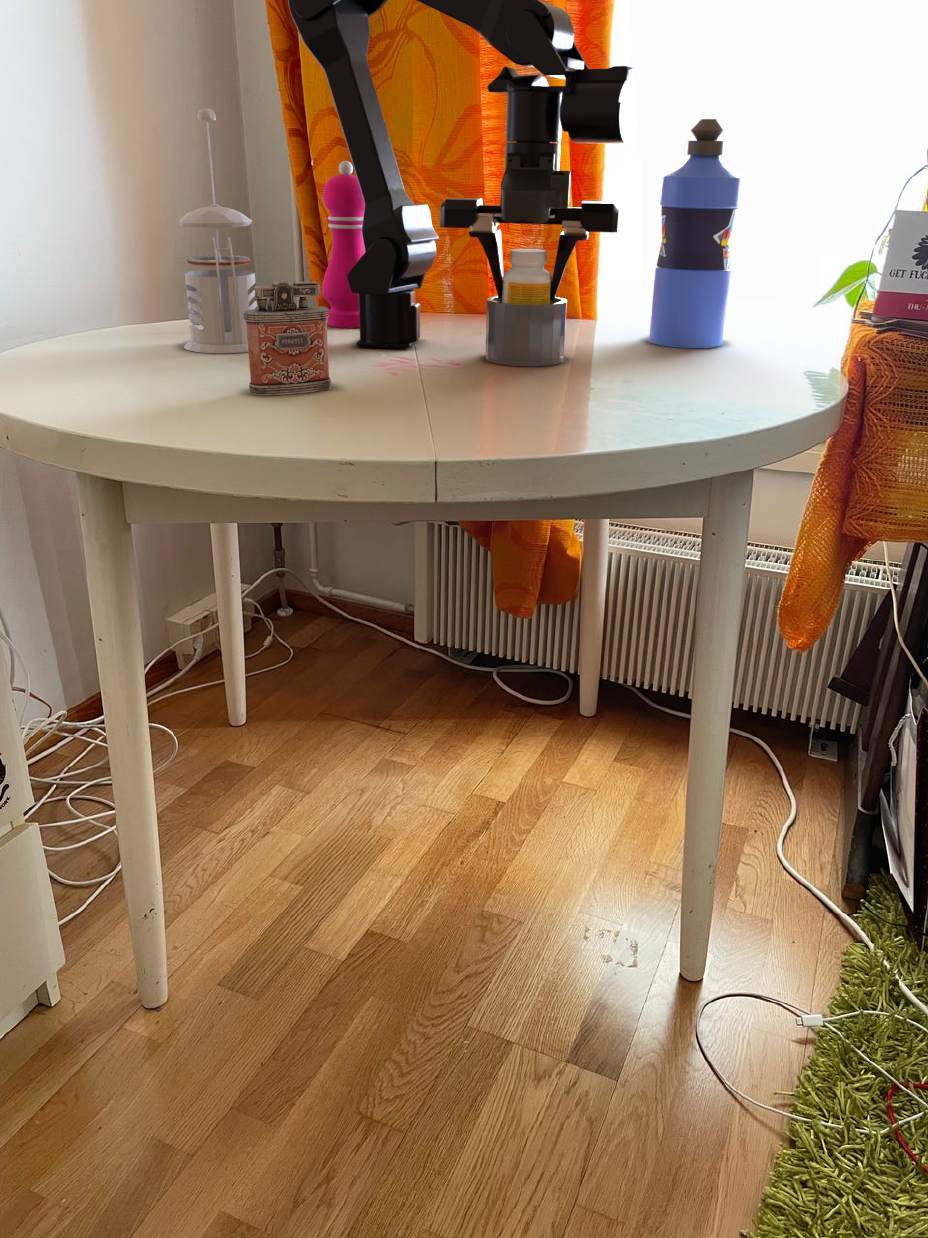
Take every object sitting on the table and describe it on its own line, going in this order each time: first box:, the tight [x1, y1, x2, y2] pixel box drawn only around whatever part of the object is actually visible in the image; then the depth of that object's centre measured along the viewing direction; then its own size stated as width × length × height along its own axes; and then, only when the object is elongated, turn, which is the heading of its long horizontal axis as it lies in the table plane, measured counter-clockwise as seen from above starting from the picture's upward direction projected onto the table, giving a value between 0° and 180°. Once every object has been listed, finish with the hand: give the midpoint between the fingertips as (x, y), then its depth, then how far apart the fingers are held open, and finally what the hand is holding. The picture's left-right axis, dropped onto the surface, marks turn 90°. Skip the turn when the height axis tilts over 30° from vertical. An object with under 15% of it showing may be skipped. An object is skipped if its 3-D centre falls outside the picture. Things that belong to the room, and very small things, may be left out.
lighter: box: [243, 280, 332, 396], centre depth 93 cm, size 8×3×10 cm, turn 117°
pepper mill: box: [321, 160, 365, 329], centre depth 129 cm, size 7×7×20 cm
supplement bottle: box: [502, 248, 553, 304], centre depth 109 cm, size 5×5×10 cm
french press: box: [177, 107, 258, 354], centre depth 111 cm, size 10×12×25 cm
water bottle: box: [648, 118, 744, 349], centre depth 119 cm, size 9×9×25 cm
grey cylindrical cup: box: [485, 295, 568, 368], centre depth 111 cm, size 9×9×6 cm
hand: (526, 299), depth 109 cm, fingers closed on supplement bottle, 5 cm apart
